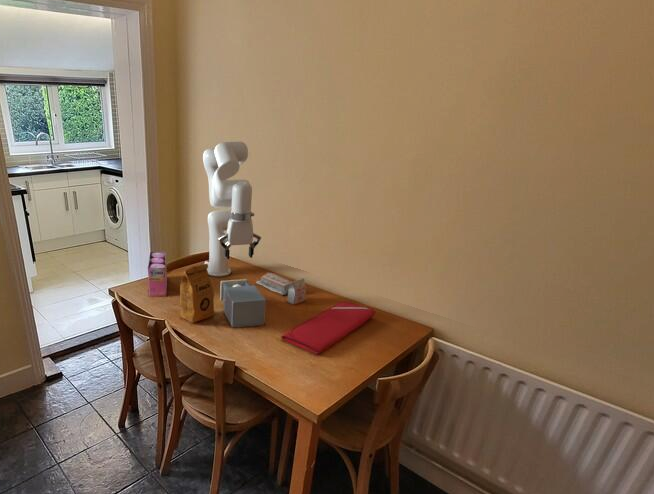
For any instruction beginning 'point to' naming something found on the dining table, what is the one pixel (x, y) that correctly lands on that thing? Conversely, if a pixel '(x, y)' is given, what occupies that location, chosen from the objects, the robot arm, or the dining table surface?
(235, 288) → the blue-grey box
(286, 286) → the packaged product
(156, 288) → the gum box
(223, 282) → the tray
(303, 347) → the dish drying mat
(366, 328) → the dining table surface
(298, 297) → the small milk carton
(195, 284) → the coffee package
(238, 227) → the robot arm
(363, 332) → the dining table surface
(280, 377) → the dining table surface
